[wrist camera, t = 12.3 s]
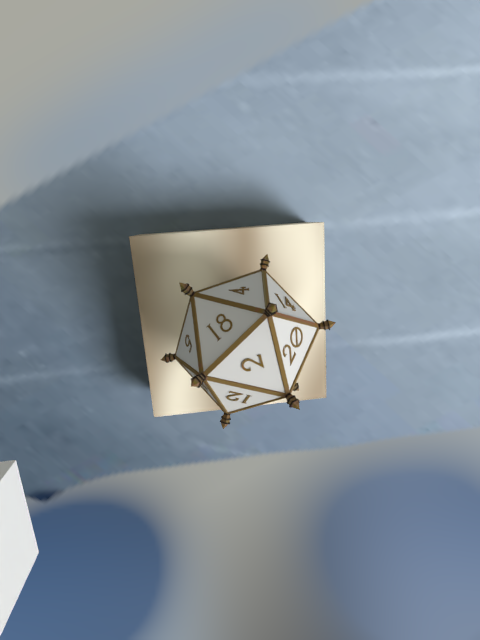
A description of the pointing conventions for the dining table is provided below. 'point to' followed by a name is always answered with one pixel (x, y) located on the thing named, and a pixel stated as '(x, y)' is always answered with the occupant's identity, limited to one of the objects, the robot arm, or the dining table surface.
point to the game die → (245, 341)
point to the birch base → (213, 268)
